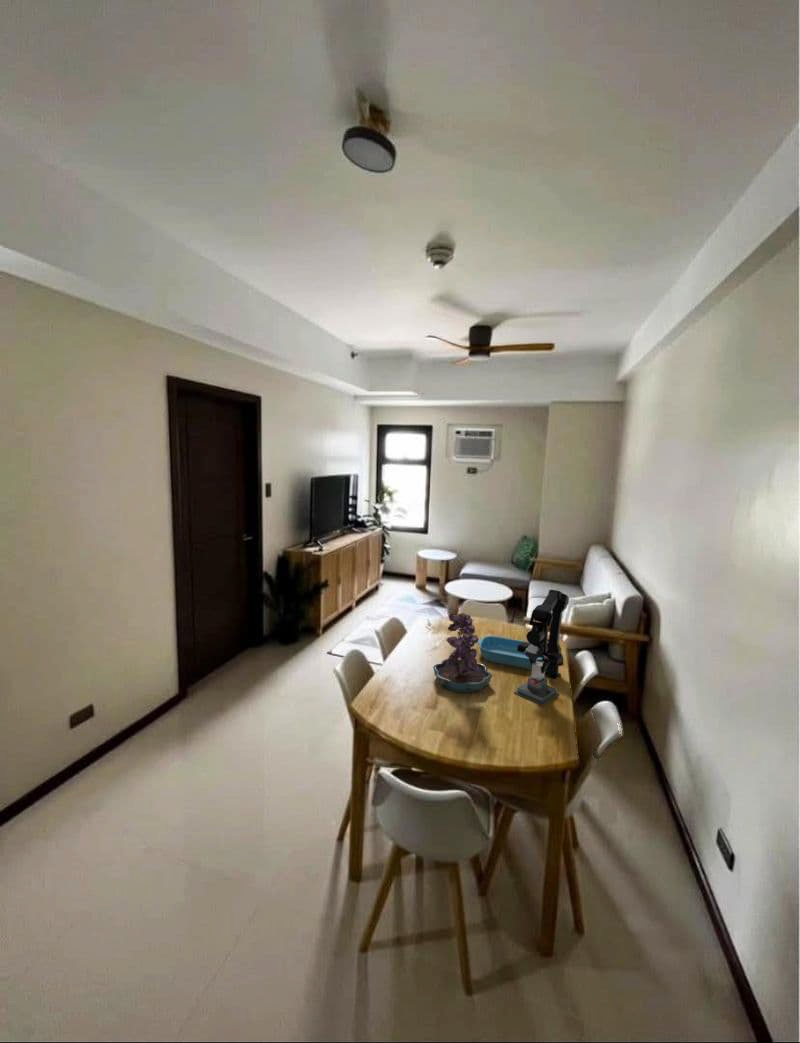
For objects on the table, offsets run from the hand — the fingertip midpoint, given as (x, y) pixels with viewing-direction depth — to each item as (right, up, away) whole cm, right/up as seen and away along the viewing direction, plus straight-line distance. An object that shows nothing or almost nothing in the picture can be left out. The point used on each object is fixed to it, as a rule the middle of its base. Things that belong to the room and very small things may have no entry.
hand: (538, 671), depth 188 cm
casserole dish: (-2, -6, +36) cm, 36 cm away
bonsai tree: (-33, -9, +7) cm, 35 cm away
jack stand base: (0, -10, +1) cm, 10 cm away
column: (0, -8, +1) cm, 8 cm away
